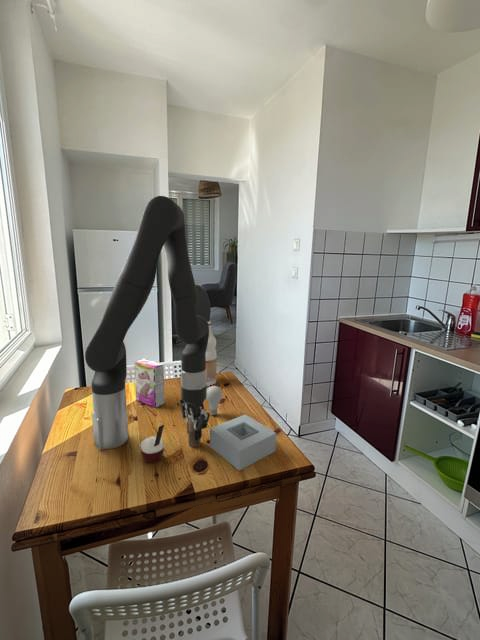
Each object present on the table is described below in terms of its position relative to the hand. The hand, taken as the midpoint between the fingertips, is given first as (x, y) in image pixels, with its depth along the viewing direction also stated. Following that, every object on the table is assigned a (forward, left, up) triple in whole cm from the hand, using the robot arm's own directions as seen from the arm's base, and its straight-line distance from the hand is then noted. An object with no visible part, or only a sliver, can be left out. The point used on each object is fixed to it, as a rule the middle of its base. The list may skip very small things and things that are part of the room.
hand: (194, 436), depth 96 cm
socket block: (+10, -11, -3) cm, 15 cm away
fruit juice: (+29, +37, -3) cm, 47 cm away
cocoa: (-13, +1, -3) cm, 13 cm away
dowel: (0, 0, -3) cm, 3 cm away
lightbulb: (+15, +11, -3) cm, 19 cm away
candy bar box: (+1, +34, -3) cm, 34 cm away
